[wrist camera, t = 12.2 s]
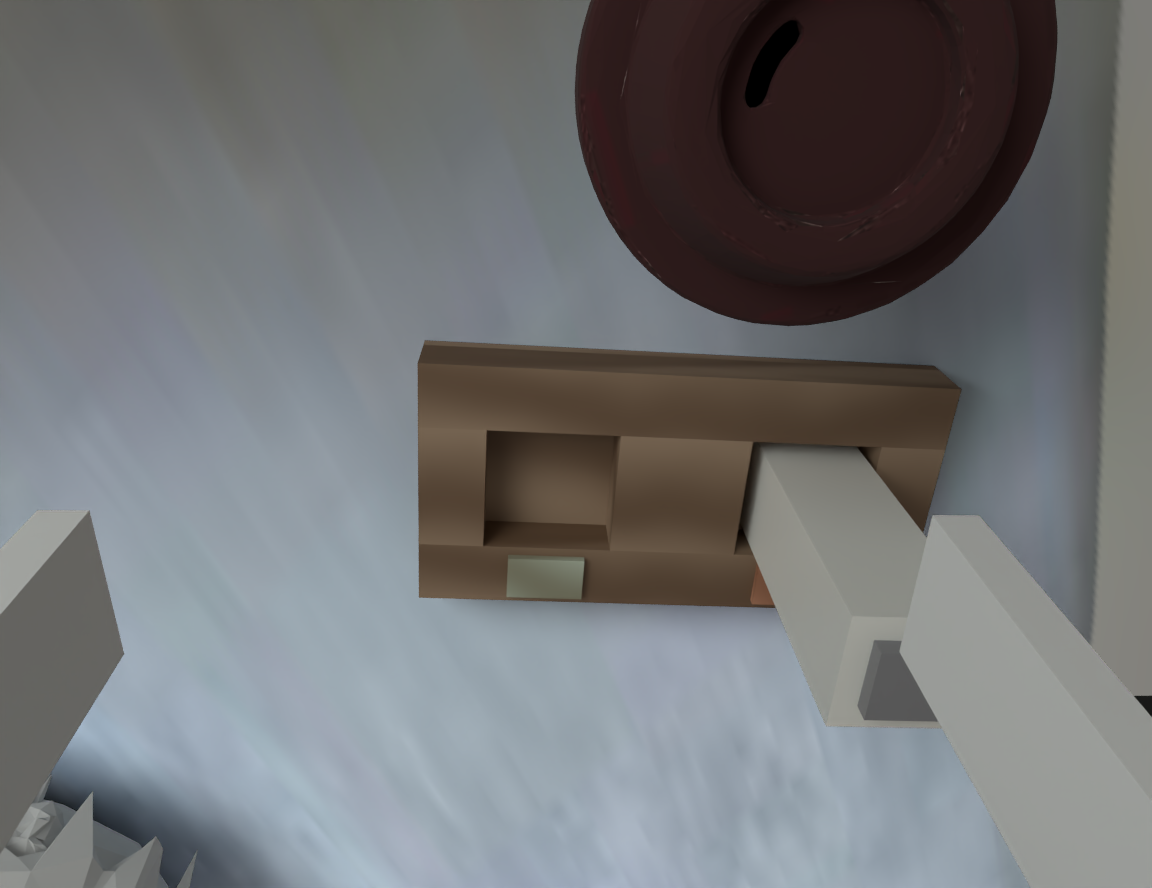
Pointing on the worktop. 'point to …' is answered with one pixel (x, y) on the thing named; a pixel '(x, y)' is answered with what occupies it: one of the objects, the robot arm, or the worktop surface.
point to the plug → (839, 578)
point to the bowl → (77, 852)
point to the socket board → (639, 464)
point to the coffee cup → (808, 141)
